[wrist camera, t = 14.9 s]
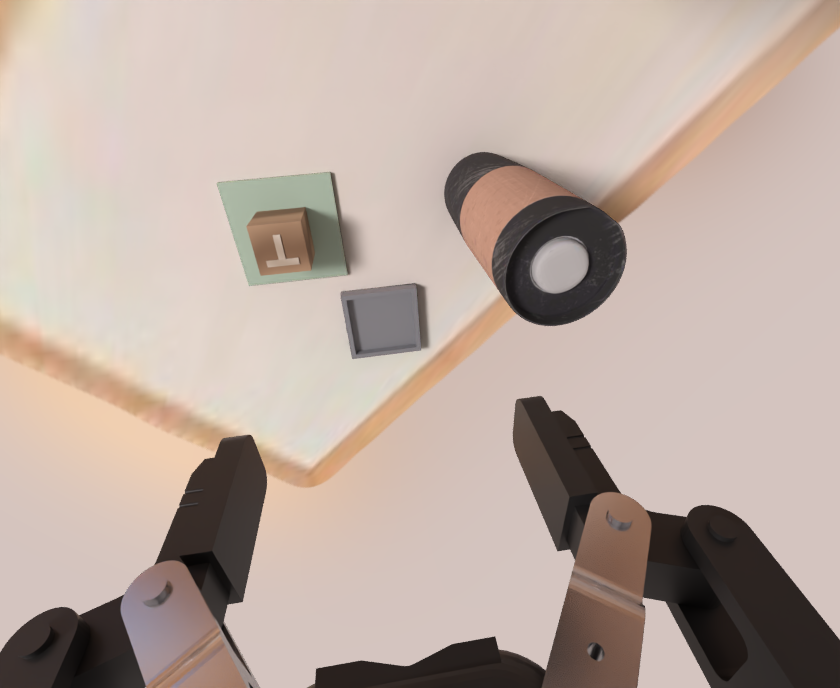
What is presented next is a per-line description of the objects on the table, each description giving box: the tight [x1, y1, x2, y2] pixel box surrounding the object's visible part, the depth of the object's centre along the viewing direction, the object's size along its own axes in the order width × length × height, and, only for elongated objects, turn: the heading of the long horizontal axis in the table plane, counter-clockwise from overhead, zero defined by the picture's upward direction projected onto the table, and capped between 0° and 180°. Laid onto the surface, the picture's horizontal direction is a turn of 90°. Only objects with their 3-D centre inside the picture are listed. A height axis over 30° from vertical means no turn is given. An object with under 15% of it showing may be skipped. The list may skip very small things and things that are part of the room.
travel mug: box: [444, 152, 627, 326], centre depth 33 cm, size 8×8×20 cm
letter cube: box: [246, 207, 315, 276], centre depth 38 cm, size 5×4×5 cm
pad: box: [217, 172, 347, 286], centre depth 40 cm, size 10×10×1 cm
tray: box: [341, 283, 421, 359], centre depth 47 cm, size 8×8×1 cm
